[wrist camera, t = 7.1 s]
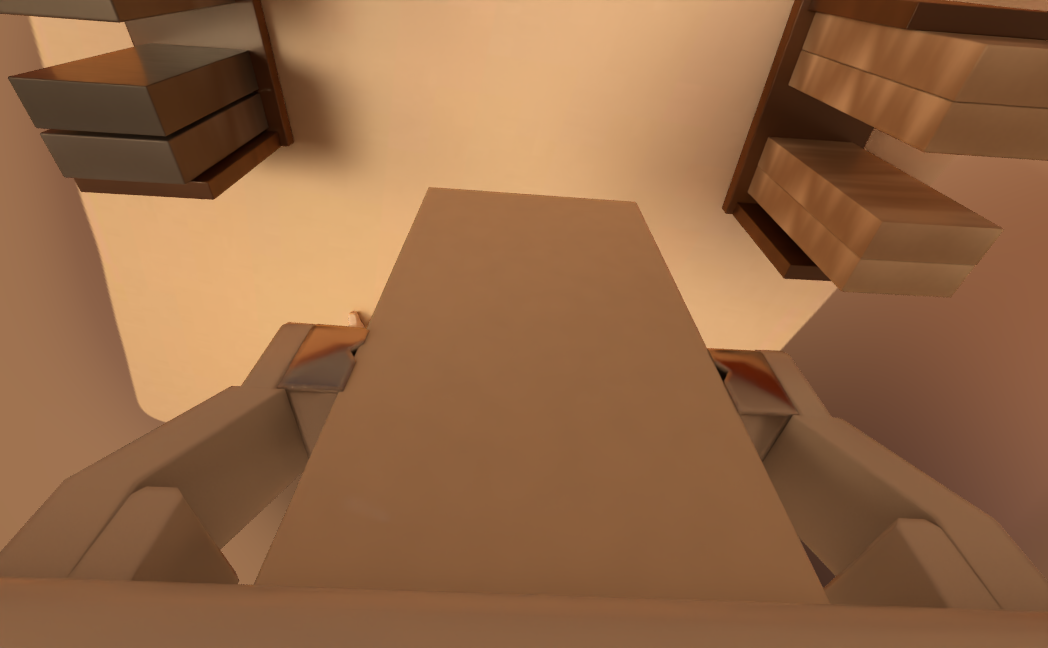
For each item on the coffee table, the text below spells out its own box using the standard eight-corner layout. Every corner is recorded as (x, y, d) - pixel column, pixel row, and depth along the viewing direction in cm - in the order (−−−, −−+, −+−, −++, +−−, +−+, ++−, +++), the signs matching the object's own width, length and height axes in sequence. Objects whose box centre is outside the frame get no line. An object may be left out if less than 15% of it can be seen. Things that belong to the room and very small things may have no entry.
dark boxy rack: (71, -145, 24) (-181, -200, 15) (229, -131, 24) (69, -177, 16) (179, 134, 33) (56, 199, 24) (294, 142, 33) (214, 208, 24)
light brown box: (428, 186, 13) (80, 965, 3) (636, 201, 13) (1010, 965, 3) (431, 249, 14) (195, 957, 4) (622, 261, 15) (857, 955, 4)
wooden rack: (798, -13, 28) (980, 9, 17) (928, -2, 28) (1190, 26, 17) (721, 208, 36) (806, 318, 25) (820, 214, 37) (948, 325, 26)
